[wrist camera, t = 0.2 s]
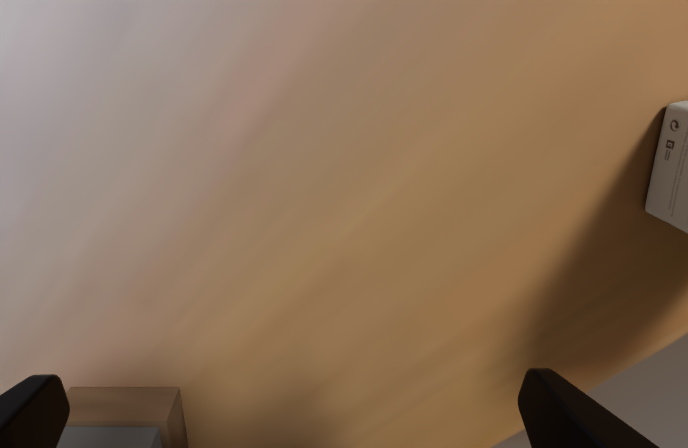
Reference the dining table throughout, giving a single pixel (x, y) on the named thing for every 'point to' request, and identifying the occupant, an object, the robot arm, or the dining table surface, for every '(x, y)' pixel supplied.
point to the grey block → (110, 437)
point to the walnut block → (130, 410)
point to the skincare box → (671, 169)
